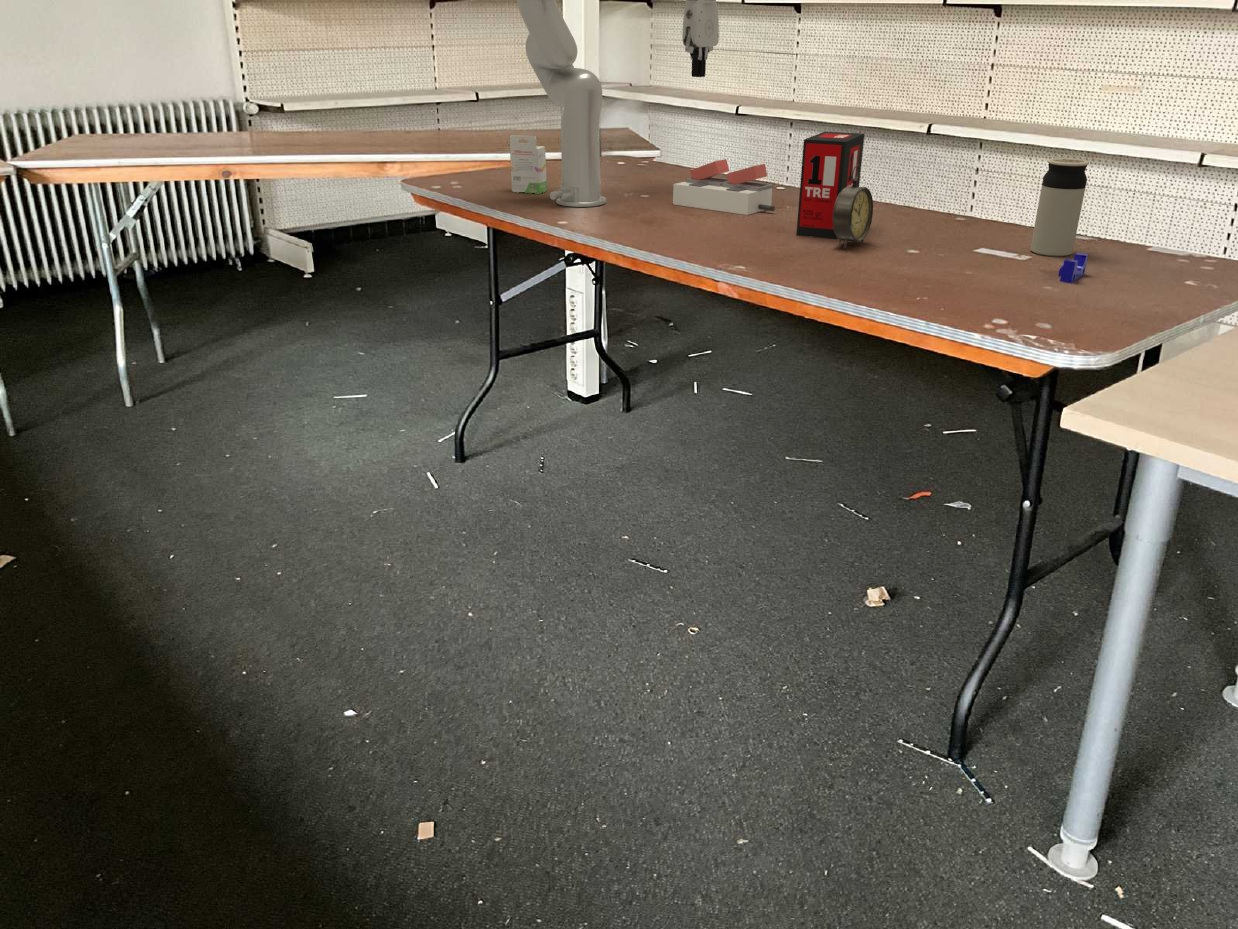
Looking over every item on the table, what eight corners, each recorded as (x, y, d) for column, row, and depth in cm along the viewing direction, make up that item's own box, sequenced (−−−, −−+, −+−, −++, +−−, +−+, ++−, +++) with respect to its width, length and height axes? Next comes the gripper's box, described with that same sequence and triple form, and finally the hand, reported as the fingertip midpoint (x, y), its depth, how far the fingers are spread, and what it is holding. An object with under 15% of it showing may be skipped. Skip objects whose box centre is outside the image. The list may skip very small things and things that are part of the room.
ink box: (547, 191, 262) (546, 134, 256) (538, 194, 258) (537, 136, 252) (520, 189, 266) (517, 132, 260) (510, 192, 262) (508, 134, 255)
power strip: (761, 217, 231) (763, 191, 228) (673, 204, 245) (673, 180, 243) (785, 210, 238) (786, 185, 236) (697, 198, 253) (698, 175, 251)
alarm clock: (848, 251, 198) (857, 169, 191) (824, 248, 201) (832, 166, 194) (871, 242, 206) (880, 162, 199) (847, 239, 209) (855, 160, 202)
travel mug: (1076, 257, 193) (1095, 163, 186) (1034, 256, 194) (1051, 162, 187) (1066, 249, 200) (1084, 158, 193) (1026, 247, 202) (1042, 157, 194)
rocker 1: (718, 173, 240) (715, 160, 239) (693, 182, 245) (689, 169, 245) (729, 170, 243) (726, 158, 243) (704, 179, 249) (701, 167, 248)
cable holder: (1064, 272, 183) (1069, 251, 182) (1084, 275, 181) (1088, 254, 180) (1051, 280, 178) (1055, 259, 176) (1071, 284, 176) (1075, 262, 174)
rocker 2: (756, 178, 234) (753, 165, 233) (729, 185, 239) (726, 173, 238) (767, 176, 237) (764, 163, 236) (740, 183, 243) (737, 170, 242)
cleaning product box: (836, 239, 209) (845, 141, 200) (796, 235, 212) (803, 139, 204) (855, 225, 222) (864, 133, 214) (817, 221, 226) (824, 131, 217)
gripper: (696, -4, 232) (693, 78, 240) (730, -4, 243) (726, 75, 251) (670, -4, 237) (669, 77, 244) (705, -3, 247) (702, 74, 255)
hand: (698, 76), depth 248 cm, fingers closed
